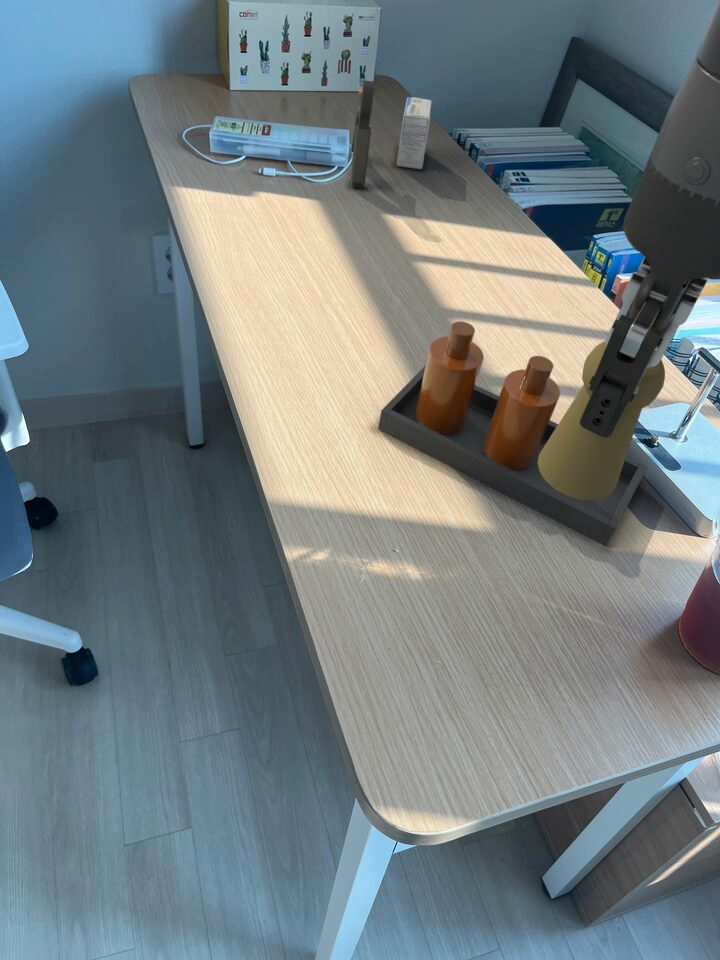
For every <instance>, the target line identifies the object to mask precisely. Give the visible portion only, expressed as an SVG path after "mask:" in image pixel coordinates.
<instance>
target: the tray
mask: <svg viewBox="0 0 720 960" xmlns="http://www.w3.org/2000/svg"><path fill="white" fill-rule="evenodd" d="M425 367H426V364H425V365H424V366H423V367H422V368H421V369H420V370H419V371H418V372H417V373H416V374H415V375H414V376H413V377H412V379H410V380H409V382H407V383H406V384H405V385H404V386H403V387H402V389H400V391H398V392H397V394H396V395H395V396H394V397H393V398H392V399H390V401H388V403H387V404H386V405H385V406H384V407H383V408H382V409H381V410H380V416H379V422H378V425H377V430H379V431H381V432H383V433H385V434H386V435H389V436H390V437H393V438H394V439H396V440H397V441H400V442H401V443H404V444H406V445H408V446H410V447H412V448H414V449H415V450H418V451H420V452H422V453H423V454H425V455H427V456H429V457H431V458H433V459H435V460H437V461H439V462H441V463H443V464H445V465H447V466H449V467H451V468H453V469H454V470H456V471H459V472H461V473H462V474H464V475H466V476H468V477H470V478H472V479H474V480H476V481H478V482H480V483H482V484H484V485H485V486H487V487H490V488H492V489H494V490H496V491H497V492H499V493H501V494H503V495H506V496H507V497H509V498H511V499H513V500H515V501H517V502H519V503H521V504H523V505H525V506H527V507H529V508H531V509H533V510H535V511H536V512H538V513H541V514H542V515H544V516H547V517H548V518H550V519H552V520H554V521H556V522H558V523H560V524H562V525H564V526H566V527H567V528H570V529H571V530H573V531H576V532H577V533H579V534H581V535H583V536H585V537H587V538H589V539H591V540H592V541H595V542H597V543H599V544H600V545H602V546H605V547H606V546H607V545H608V543H609V541H610V540H611V538H612V536H613V535H614V532H615V531H616V529H617V527H618V526H619V524H620V521H621V520H622V517H623V516H624V514H625V512H626V510H627V508H628V506H629V504H630V503H631V501H632V498H633V496H634V495H635V492H636V490H637V488H638V487H639V484H640V483H641V480H642V479H643V477H644V474H645V473H646V471H647V469H648V465H645V464H643V463H640V461H637V460H635V459H633V458H631V457H628V456H627V455H626V458H625V461H624V464H623V467H622V470H621V473H620V476H619V479H618V482H617V485H616V487H615V488H614V490H613V491H612V493H611V494H609V495H608V496H606V497H604V498H602V499H597V500H579V499H576V498H573V497H569V496H566V495H565V494H563V493H561V492H559V491H557V490H556V489H554V488H553V487H552V486H551V485H550V484H549V483H547V482H546V481H545V479H544V478H543V476H542V474H541V473H540V471H539V467H538V458H539V454H540V452H541V451H542V449H543V448H544V446H545V444H546V443H547V441H548V440H549V438H550V437H551V435H552V433H553V432H554V430H555V429H556V427H557V426H558V424H559V423H557V422H554V421H552V420H550V422H549V424H548V426H547V429H546V431H545V434H544V436H543V439H542V441H541V444H540V446H539V449H538V451H537V453H536V456H535V458H534V461H533V463H532V464H531V465H530V466H528V467H527V468H524V469H520V470H511V469H509V468H507V467H505V466H503V465H501V464H499V463H497V462H495V461H493V460H491V459H489V458H488V457H487V456H486V454H485V452H484V449H483V444H484V441H485V438H486V435H487V432H488V429H489V426H490V423H491V420H492V417H493V414H494V411H495V408H496V405H497V402H498V399H499V396H500V395H498V394H496V393H493V392H491V391H489V390H487V389H485V388H483V387H481V386H479V385H476V386H475V390H474V393H473V397H472V400H471V403H470V407H469V410H468V413H467V417H466V420H465V423H464V426H463V427H462V428H461V429H460V430H459V431H457V432H455V433H452V434H439V433H437V432H435V431H433V430H431V429H429V428H427V427H425V426H423V425H421V424H419V423H418V421H417V419H416V417H415V410H416V406H417V402H418V397H419V393H420V389H421V384H422V380H423V376H424V371H425Z"/></svg>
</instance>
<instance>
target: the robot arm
mask: <svg viewBox="0 0 720 960" xmlns="http://www.w3.org/2000/svg"><path fill="white" fill-rule="evenodd" d="M623 233H624V236H625V237H626V239H627V241H628V242H629V244H630V245H631V247H632V248H633V249H634V250H635V251H636V252H638V253H640V254H641V255H642V256H643V259H642V261H641V262H640V265H639V267H638V269H637V271H633V272H632V274H631V276H630V278H629V279H628V282H627V284H626V286H625V288H624V289H623V293H622V295H621V301H622V304H621V306H620V308H619V310H618V312H617V315H616V317H615V319H614V321H613V323H612V325H611V327H610V329H609V332H608V334H607V335H606V338H605V340H604V341H605V345H606V349H605V351H604V354H603V356H602V358H601V361H600V363H599V366H598V368H597V370H596V373H595V375H594V376H592V378H591V380H590V382H589V384H591V385H590V387H589V390H590V391H593V393H592V395H591V397H590V399H589V401H588V404H587V406H586V408H585V410H584V413H583V415H582V417H581V419H580V425H581V426H582V427H583V428H584V429H586V430H589V431H591V432H593V433H595V434H597V435H599V436H602V437H609V436H611V434H612V432H613V431H614V429H615V427H616V425H617V423H618V421H619V419H620V417H621V415H622V413H623V411H624V409H625V407H626V406H627V405H628V403H629V401H630V402H632V401H633V399H634V397H635V395H636V394H637V392H638V390H639V388H640V387H638V385H639V383H640V381H641V379H642V377H643V375H644V373H645V371H646V369H647V368H648V367H654V366H656V365H658V364H659V362H660V361H661V360H662V359H663V357H664V355H665V353H666V351H667V350H668V348H669V345H670V343H671V342H672V340H673V338H674V336H675V333H676V332H677V330H679V327H680V326H682V325H684V324H685V323H686V322H687V321H688V319H689V317H690V315H691V313H692V311H693V309H694V307H695V306H696V304H697V301H698V300H699V297H700V295H701V293H702V292H703V290H704V288H705V286H706V284H707V283H708V280H709V279H710V280H712V281H713V280H720V0H718V1H717V3H716V5H715V9H714V10H713V13H712V16H711V18H710V20H709V23H708V25H707V28H706V30H705V32H704V35H703V37H702V40H701V42H700V44H699V47H698V49H697V52H696V56H695V57H694V59H693V61H692V63H691V65H690V67H689V70H688V71H687V73H686V75H685V77H684V79H683V81H682V82H681V84H680V86H679V88H678V89H677V91H676V93H675V95H674V97H673V99H672V101H671V103H670V105H669V108H668V110H667V112H666V115H665V117H664V119H663V123H662V125H661V128H660V129H659V132H658V135H657V137H656V140H655V142H654V145H653V147H652V149H651V152H650V154H649V157H648V159H647V162H646V164H645V167H644V169H643V172H642V174H641V177H640V179H639V181H638V184H637V186H636V189H635V191H634V193H633V196H632V199H631V201H630V204H629V206H628V209H627V211H626V214H625V215H624V219H623Z"/></svg>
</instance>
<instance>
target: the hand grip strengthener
mask: <svg viewBox="0 0 720 960" xmlns="http://www.w3.org/2000/svg"><path fill="white" fill-rule="evenodd" d="M361 84H362V87H360V88H359V90H358V97H359V103H358V104H359V105H358V111H356V115H355V120H354V121H355V122H354V129H353V136H352V141H351V147H350V152H351V151H352V152H353V153H351V154H352V161H351V169H350V170H351V171H350V182H351V185H352V186H351V187H352V188H355V189H363V184H365V183H366V179H367V178H366V177H367V170H368V160H369V152H370V142H371V133H372V127H371V126H370V123H371V122H370V121H371V116H372V111H373V110H372V109H373V102H374V90H375V81H373V80H362V83H361Z"/></svg>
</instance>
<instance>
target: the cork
mask: <svg viewBox="0 0 720 960" xmlns="http://www.w3.org/2000/svg"><path fill="white" fill-rule="evenodd" d="M605 349H606V345H605V340H604V341H603V342H600V343H598V344H597V345H596V346H594V348H592V350H591V351H590V352H589V354H588V355H587V356H586V358H585V361H584V363H583V368H582V374H581V375H582V376H581V380H582V382H583V385H582V386H581V388H580V390H579V391H578V393H577V394H576V395H575V396H574V399H573V401H572V402H571V403H570V405H569V407H568V408H567V410H566V412H565V413H564V415H563V416H562V418H561V419H560V421H559V422H558V423H557V424H558V426H557V427H556V429H555V430H554V432H553V433H552V435H551V437H550V438H549V440H548V441H547V443H546V444H545V446H544V448H543V449H542V451H541V452H540V454H539V458H538V467H539V471H540V473H541V474H542V476H543V478H544V479H545V481H546V482H547V483H549V484H550V485H551V486H552V487H553V488H554V489H556V490H557V491H559V492H561V493H563V494H565V495H566V496H569V497H573V498H576V499H579V500H597V499H602V498H604V497H606V496H608V495H609V494H611V493H612V491H613V490H614V488H615V487H616V485H617V482H618V479H619V476H620V473H621V470H622V467H623V464H624V461H625V458H626V456H627V455H628V452H629V449H630V446H631V443H632V440H633V437H634V434H635V432H636V428H637V425H638V422H639V419H640V416H641V413H642V411H643V409H644V408H646V407H648V406H649V405H651V404H652V403H653V402H654V401H655V400H656V399H657V397H658V396H659V394H660V393H661V391H662V390H663V388H664V385H665V381H666V380H665V379H666V369H665V365H664V362H663V360H662V359H661V361H660V362H659V364H658V365H656V366H654V367H648V368H647V369H646V371H645V373H644V375H643V377H642V379H641V381H640V383H639V385H638V387H640V388H639V390H638V392H637V394H636V395H635V397H634V399H633V401H632V402H630V401H629V403H628V405H627V406H626V407H625V409H624V411H623V413H622V415H621V417H620V419H619V421H618V423H617V425H616V427H615V429H614V431H613V432H612V434H611V436H609V437H602V436H599V435H597V434H595V433H593V432H591V431H589V430H586V429H584V428H583V427H582V426H581V425H580V419H581V417H582V415H583V413H584V410H585V408H586V406H587V404H588V401H589V399H590V397H591V395H592V393H593V391H590V390H589V387H590V385H591V384H589V382H590V380H591V378H592V376H594V375H595V373H596V370H597V368H598V366H599V363H600V361H601V358H602V356H603V354H604V351H605Z"/></svg>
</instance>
